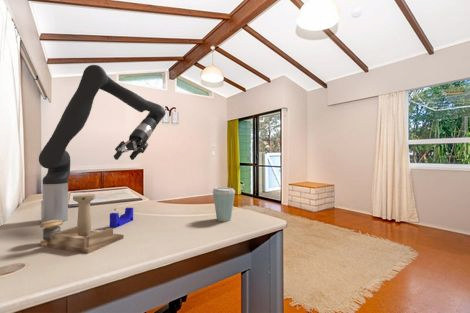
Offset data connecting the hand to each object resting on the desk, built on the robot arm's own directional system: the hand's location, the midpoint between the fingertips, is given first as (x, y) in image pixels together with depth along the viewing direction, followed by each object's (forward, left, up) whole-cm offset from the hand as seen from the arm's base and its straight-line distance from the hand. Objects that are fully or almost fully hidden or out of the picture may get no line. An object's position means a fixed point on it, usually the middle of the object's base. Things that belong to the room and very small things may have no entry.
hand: (123, 158), depth 101 cm
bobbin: (-7, -25, -29) cm, 38 cm away
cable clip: (-2, +1, -29) cm, 29 cm away
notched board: (+4, -21, -29) cm, 35 cm away
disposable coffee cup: (+39, +20, -29) cm, 53 cm away
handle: (+4, -21, -28) cm, 35 cm away
